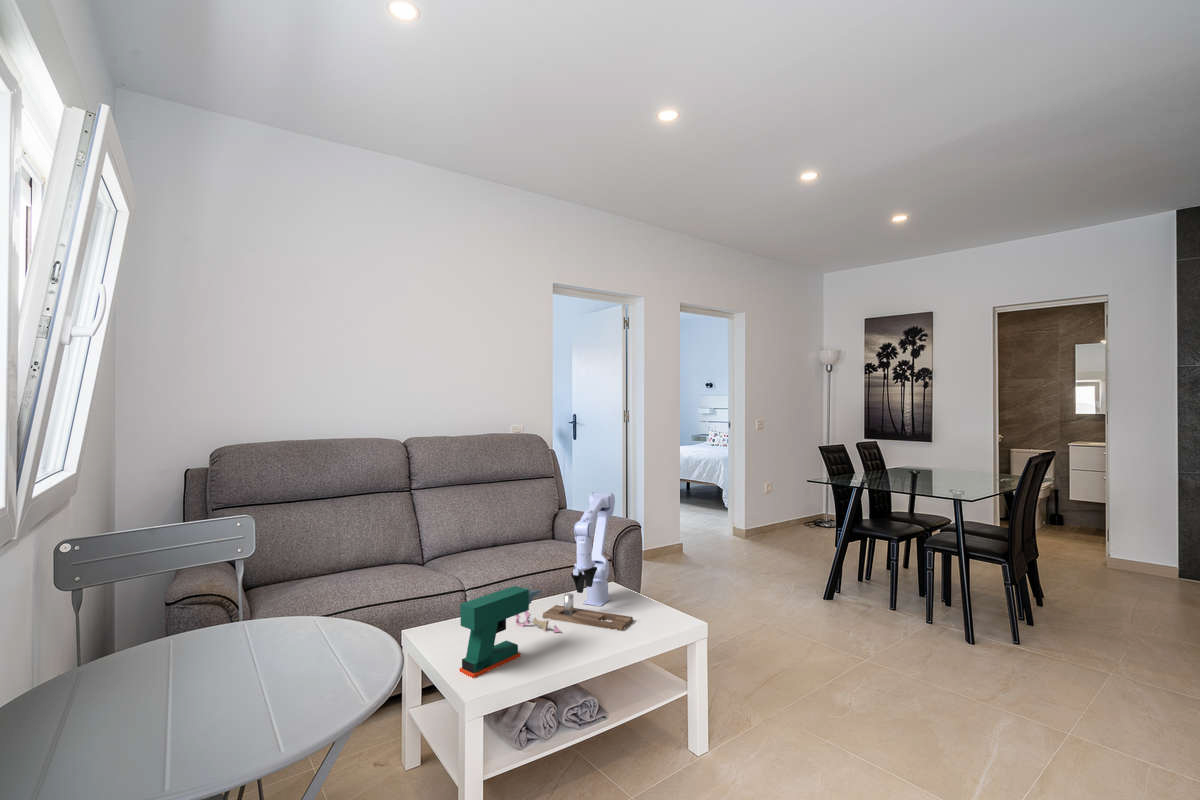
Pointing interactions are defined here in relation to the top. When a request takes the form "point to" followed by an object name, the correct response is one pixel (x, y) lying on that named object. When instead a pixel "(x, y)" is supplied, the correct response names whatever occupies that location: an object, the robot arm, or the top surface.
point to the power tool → (491, 628)
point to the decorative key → (536, 622)
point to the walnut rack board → (589, 618)
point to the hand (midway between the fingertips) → (584, 589)
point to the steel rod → (568, 604)
